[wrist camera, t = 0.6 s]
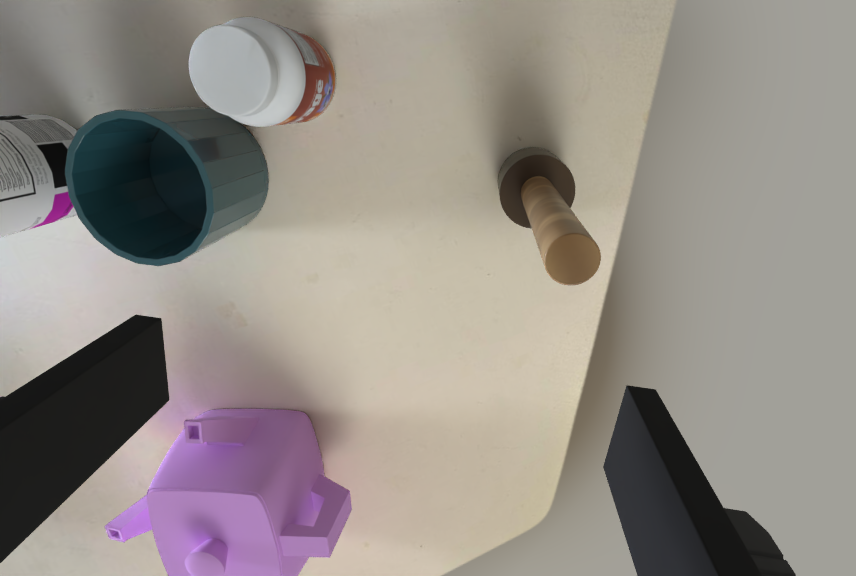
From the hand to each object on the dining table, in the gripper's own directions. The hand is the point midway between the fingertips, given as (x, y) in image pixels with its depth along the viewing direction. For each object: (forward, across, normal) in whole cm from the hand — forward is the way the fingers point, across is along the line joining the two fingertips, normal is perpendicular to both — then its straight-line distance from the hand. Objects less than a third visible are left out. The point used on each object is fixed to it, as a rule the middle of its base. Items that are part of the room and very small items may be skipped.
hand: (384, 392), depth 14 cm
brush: (+28, +6, +2) cm, 28 cm away
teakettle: (+28, -16, -28) cm, 43 cm away
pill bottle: (+28, -12, +8) cm, 31 cm away
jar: (+28, -20, 0) cm, 34 cm away
